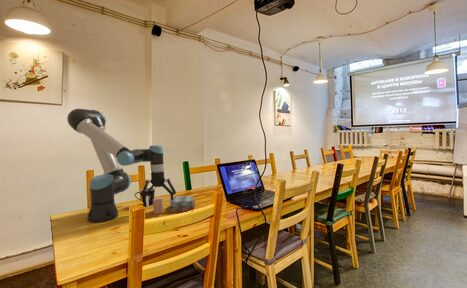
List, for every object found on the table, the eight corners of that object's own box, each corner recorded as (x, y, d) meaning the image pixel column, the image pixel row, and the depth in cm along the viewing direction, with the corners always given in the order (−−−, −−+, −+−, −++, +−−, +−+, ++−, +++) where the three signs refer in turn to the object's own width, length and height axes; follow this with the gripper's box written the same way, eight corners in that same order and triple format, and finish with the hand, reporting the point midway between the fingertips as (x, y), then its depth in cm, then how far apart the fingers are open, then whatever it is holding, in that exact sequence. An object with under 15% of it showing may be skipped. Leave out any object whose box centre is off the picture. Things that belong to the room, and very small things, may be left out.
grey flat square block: (169, 212, 144) (169, 202, 144) (173, 205, 158) (172, 196, 158) (193, 211, 145) (193, 201, 145) (195, 204, 159) (194, 195, 159)
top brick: (153, 213, 143) (152, 199, 143) (155, 210, 148) (154, 197, 148) (162, 212, 144) (161, 199, 144) (163, 210, 149) (163, 197, 148)
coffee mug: (157, 202, 165) (156, 187, 164) (151, 206, 156) (151, 191, 155) (140, 202, 166) (140, 187, 165) (134, 206, 157) (133, 190, 157)
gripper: (133, 173, 140) (135, 210, 141) (178, 170, 143) (179, 206, 144) (137, 171, 147) (139, 206, 148) (179, 169, 150) (181, 203, 151)
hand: (159, 206), depth 146 cm, fingers open, 13 cm apart
